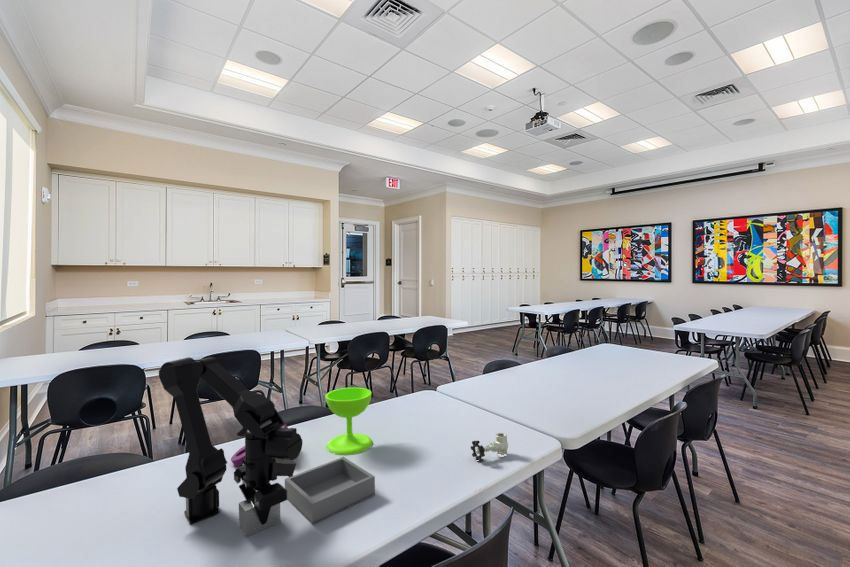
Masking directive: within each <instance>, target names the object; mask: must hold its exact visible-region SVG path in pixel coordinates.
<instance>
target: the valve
mask: <svg viewBox="0 0 850 567" xmlns="http://www.w3.org/2000/svg"><path fill="white" fill-rule="evenodd" d="M507 436H508V435H507V434H506V433H505V432H504V433H503V432H498V433H495V441H492V442H490V443H489V445H485V446H483V444H481V445H480V441H479V440H473V441H472V442H471V444H472V445H471V446H470V450H472V453H471V456H472V457H473V458H475V461H476V460H479V462H480V463H482V462H484V458H483V457H485V455H486V454H485V453H487V452H492V453H496V452H497V454H501V455H504V454H507V455H508V448H509V442H508V437H507ZM497 454H496V455H497Z"/></svg>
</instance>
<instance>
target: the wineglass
mask: <svg viewBox="0 0 850 567" xmlns="http://www.w3.org/2000/svg"><path fill="white" fill-rule="evenodd" d="M324 396H325V402H326V405H327V406H328V409H329V411H330V412H332V414H333V415H336V416H338V417H339V418H343V419H344V418H346V433H345V434H341V435H337V436H336V437H333V438H332V439H330V440H329V441H328V442H327V444H326V447H327V448H326V450H327V449H328V450H329V451H330V452H332V453H331V454H333V453H335V454H334V455H337V454H339V455H338V456H350V455H349V454H353V455H356V454H355V453H358V454H360V453H359V452H361V453H363V452H362V451H364V452H366V451H367V450H366V449H368V448H369V447H370V446H371V445H372V446H373V440H372V438H371V437H370V436H368V435H365V434H362V433H353V417H354V418H355V417H357V416H359V415H361V414H362V413H363V412H365V411H366V409H367V408H368V406H369V405H370V402H371V400H372V391H371V390H370V389H368V388H366V387H365V388H364V387H342V388H338V389H335V390H330V391H328V392H327V393H326V394H325V395H324ZM372 446H371V447H372ZM371 447H370V448H371ZM370 448H369V449H370ZM369 449H368V450H369ZM328 450H327V451H328ZM365 450H366V451H365ZM329 451H328V452H329ZM330 452H329V453H330Z"/></svg>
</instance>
